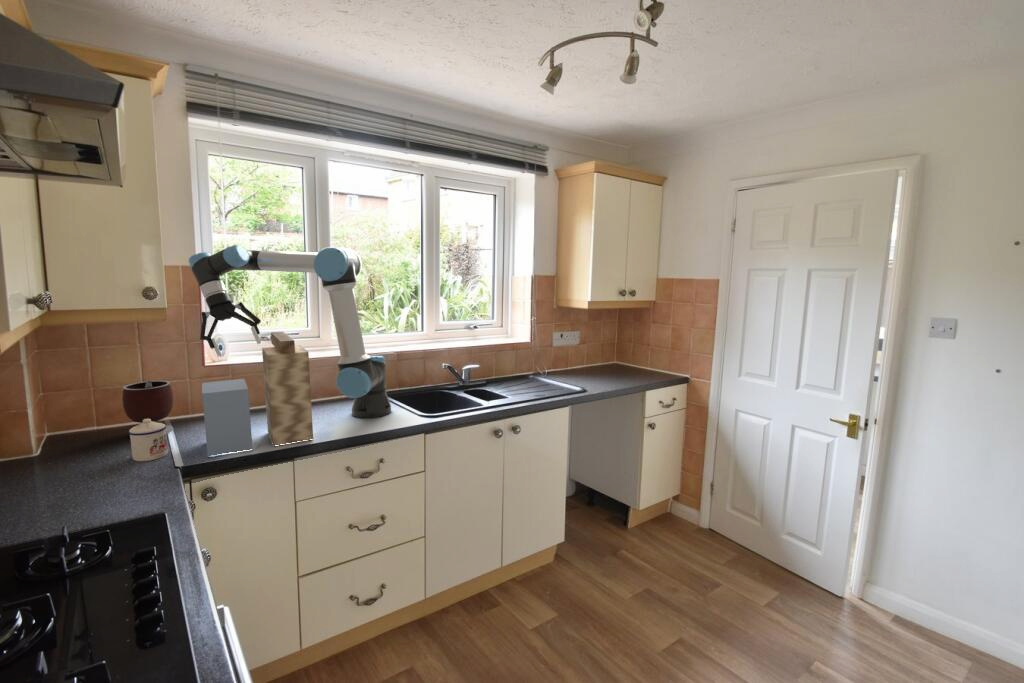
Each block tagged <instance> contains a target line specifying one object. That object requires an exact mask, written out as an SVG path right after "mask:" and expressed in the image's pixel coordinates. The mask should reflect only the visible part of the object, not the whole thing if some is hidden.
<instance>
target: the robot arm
mask: <svg viewBox="0 0 1024 683" xmlns="http://www.w3.org/2000/svg"><path fill="white" fill-rule="evenodd" d="M188 263H189V266H190V270H191V272H192V273H193V276H194V277H195V280H196V283H197V284H198V286H199V289H200V291H201V294H202V296H203V297H204V298H205V303H206V305H207V307H208V309H209V310H208V311H202V312H201V314H200V317H201V327H200V328H201V329H200V336H199V340H200V341H206V342H207V343H208V345H209V349H211V350H212V349H213V350H214V351H215V353H216V355H217V357H218V358H219V357H221V356H222V353H221V351H220V348H219V346H218V344H217V342H216V340H215V338H214V337H212V336H213V334H214V331H215V330H216V327H217V325H218V322H219V321H220V322H223V321H225V320H230V319H232V318H234V319H237V320H239V321H241V322H243V323H244V324H246V325H248V326H250V330H251V332H252V335H253V338H254V339H255V341H256V343H257V345H259V344H261V343H262V342H261V339H260V337H259V335H260V334H261V333H260V329H259V327H258V325H259V324H260V323H261V319H260V318H259V317H257V315H255V314H254V313H253V312H252V311H250V310H249V309H248V308H247V307H245V305H244V303H243V302H241V301H240V302H239V303H236V304H233V302H232V299H231V298H230V295H229V293H228V292H227V288H226V287H225V284H224V282H223V279H222V277H221V276H223V275H225V274H227V273H230V272H232V271H262V272H263V271H265V272H266V271H268V272H269V271H270V272H288V273H291V272H292V273H311V274H316V275H317V276H318V278H320V279H321V284H322V287H323V289H324V290H326V291H327V292H328V296H329V301H330V307H331V311H332V317H333V322H334V329H335V333H336V339H337V343H338V349H339V354H340V358H339V360H338V361H337V366H338V372H339V373H338V374H337V376H336V380H335V383H336V384H335V385H336V388H337V389H338V391H339V392H340V393H341V394H342V395H344V396H345V397H347V398H350V399H354V400H353V402H352V406H351V415H352V416H353V417H356V418H360V419H361V418H363V419H369V418H370V419H371V418H378V417H383V416H386V415H389V414H391V413H392V404H391V401H390V400H389V397H388V394H387V381H386V378H387V377H386V375H387V374H386V365H387V364H386V359H385V356H383V355H369V354H367V352H366V351H365V350H366V349H365V345H364V338H363V334H362V328H361V327H362V326H361V322H360V316H359V311H358V307H357V300H356V296H355V290H354V288H355V286H356V285H357V283H358V282H357V281H358V280H357V276H358V275H359V274H360V273H361V270H362V266H363V265H362V263H363V262H362V259H361V257H360V255H359V254H358V253H357V252H356V251H355V250H353V249H351V248H347V247H339V246H328V247H323V248H322V249H321V250H320V251H318V252H309V251H307V252H306V251H305V252H303V251H302V252H301V251H278V250H277V251H276V250H255V249H254V250H251V249H245V248H244V247H243V246H241V245H239V244H234V245H233V244H232V245H230V246H227V247H225V248H224V249H221V250H220V251H218V252H216V253H214V254H211V253H209V252H207V251H205V252H204V251H203V252H202V251H201V252H199V253H195V254H193V255H191V256H190V257H189V258H188ZM236 309H237V310H240V311H241V312H242V313H243V314H245V315H246V317H245V316H244V315H241V314H240V313H238V312H237V311H236ZM210 316H212V317H213V318H214V320H213V322H212V324H211V327H210V329H209V330H208V334H207V335H206V329H207V321H208V320H207V319H208V318H210ZM247 317H248V318H247Z"/></svg>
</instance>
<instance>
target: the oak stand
mask: <svg viewBox="0 0 1024 683" xmlns="http://www.w3.org/2000/svg"><path fill="white" fill-rule="evenodd" d="M261 353H262V365H263V366H262V367H263V381H264V382H263V383H264V396H265V410H266V421H267V422H266V424H267V434H268V436H270V437H269V439H270V441H272V442H271V444H272V443H273V444H272V446H273V445H274V446H275V445H280V444H286V443H292V442H297V441H303V440H310V439H313V440H314V431H313V430H314V428H313V427H314V426H313V414H312V413H313V412H312V411H313V410H312V395H311V394H312V392H311V373H310V372H311V371H310V356H309V354H310V353H309V351H308V350H306V348H304V347H303V346H301V345H295V353H287V354H281V353H280V352H279V351H278V350H277V349H276V348H275V347H274V346H272V347H270V346H269V347H262V348H261Z"/></svg>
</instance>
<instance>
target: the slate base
mask: <svg viewBox="0 0 1024 683" xmlns="http://www.w3.org/2000/svg"><path fill="white" fill-rule="evenodd" d="M201 392H202V393H201V394H202V404H203V405H202V406H203V407H202V409H203V417H204V429H205V430H204V431H205V440H206V451H207V457H208V456H211V455H217V454H222V453H229V452H237V451H243V450H250V449H254V448H253V439H252V438H253V436H252V425H251V424H252V423H251V412H250V410H251V409H250V399H249V397H250V396H249V388H248V384H247V382H246V380H245V378H239V379H238V378H237V379H229V380H219V381H208V382H202V383H201Z"/></svg>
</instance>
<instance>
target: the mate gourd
mask: <svg viewBox="0 0 1024 683" xmlns="http://www.w3.org/2000/svg"><path fill="white" fill-rule="evenodd" d="M122 389H123V390H122V407H123V410H124V414H125V415H126V417H127V418H129V419H130V420H131V421H132V422H135V423H139V424H141V423H143V420H144V419H151V421H153V422H156V423H158V422H160V421H161V420H163V419H165V418H167V417H168V416H169V414H170V413H171V411H172V410H173V406H174V395H173V390H172V386H171V383H170V381H168V380H147V381H141V382H140V381H139V382H135V383H131V384H126V385H124V386H123V388H122ZM165 426H166V430H167V433H169V432H171V431H172V430H173V431H174V427H173V426H170V425H165ZM173 431H172V432H173ZM172 432H171V433H172ZM169 434H170V433H169Z"/></svg>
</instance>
